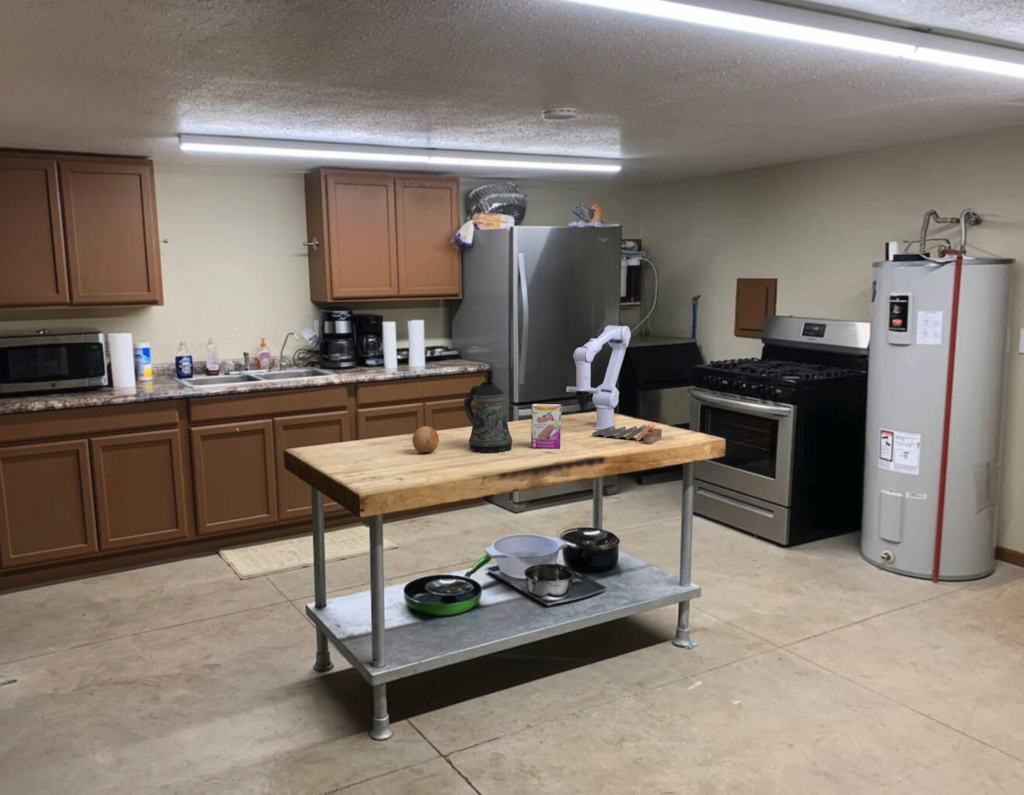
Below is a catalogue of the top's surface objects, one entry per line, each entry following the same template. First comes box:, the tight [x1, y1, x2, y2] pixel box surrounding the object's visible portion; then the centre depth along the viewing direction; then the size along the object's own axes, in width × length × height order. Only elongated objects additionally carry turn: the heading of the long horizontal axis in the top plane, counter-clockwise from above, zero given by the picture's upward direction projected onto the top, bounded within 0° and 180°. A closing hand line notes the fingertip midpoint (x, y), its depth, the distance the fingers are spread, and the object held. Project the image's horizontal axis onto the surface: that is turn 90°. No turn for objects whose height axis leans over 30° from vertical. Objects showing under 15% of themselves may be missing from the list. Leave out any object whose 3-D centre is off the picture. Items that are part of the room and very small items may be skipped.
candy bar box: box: [530, 403, 562, 450], centre depth 303 cm, size 11×5×16 cm, turn 84°
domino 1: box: [591, 425, 616, 437], centre depth 323 cm, size 2×5×8 cm
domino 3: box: [614, 425, 638, 440], centre depth 318 cm, size 2×5×8 cm
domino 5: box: [635, 422, 656, 442], centre depth 314 cm, size 2×5×8 cm
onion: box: [412, 425, 440, 454], centre depth 296 cm, size 10×10×10 cm
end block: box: [643, 427, 663, 445], centre depth 313 cm, size 3×12×4 cm, turn 150°
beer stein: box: [463, 381, 513, 454], centre depth 301 cm, size 16×19×25 cm
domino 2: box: [602, 425, 627, 438], centre depth 321 cm, size 2×5×8 cm
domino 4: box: [624, 424, 647, 440], centre depth 316 cm, size 2×5×8 cm
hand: (583, 410), depth 327 cm, fingers closed
